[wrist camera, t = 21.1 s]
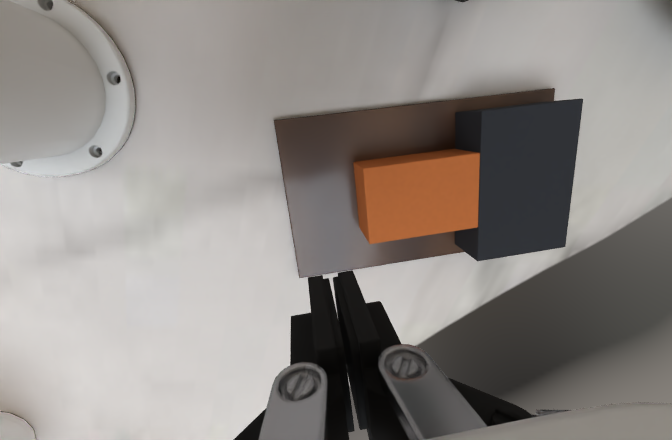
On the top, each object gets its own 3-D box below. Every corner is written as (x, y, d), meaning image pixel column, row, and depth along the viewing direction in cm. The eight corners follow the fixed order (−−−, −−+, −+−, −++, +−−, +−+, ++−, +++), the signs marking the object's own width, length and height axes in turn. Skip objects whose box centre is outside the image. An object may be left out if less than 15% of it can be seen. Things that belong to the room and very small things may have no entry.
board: (299, 275, 30) (299, 278, 29) (274, 120, 26) (273, 120, 25) (536, 237, 32) (540, 239, 31) (549, 88, 28) (555, 88, 27)
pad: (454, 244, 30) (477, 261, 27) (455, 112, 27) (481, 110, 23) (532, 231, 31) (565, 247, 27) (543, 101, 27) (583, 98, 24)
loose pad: (359, 228, 29) (369, 244, 25) (352, 161, 27) (362, 168, 23) (454, 214, 29) (478, 227, 26) (454, 148, 28) (480, 152, 24)
